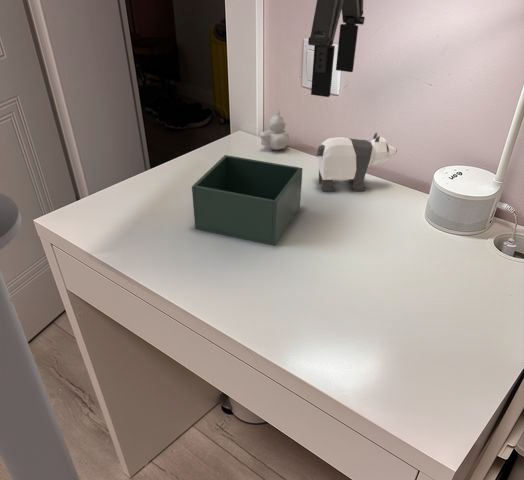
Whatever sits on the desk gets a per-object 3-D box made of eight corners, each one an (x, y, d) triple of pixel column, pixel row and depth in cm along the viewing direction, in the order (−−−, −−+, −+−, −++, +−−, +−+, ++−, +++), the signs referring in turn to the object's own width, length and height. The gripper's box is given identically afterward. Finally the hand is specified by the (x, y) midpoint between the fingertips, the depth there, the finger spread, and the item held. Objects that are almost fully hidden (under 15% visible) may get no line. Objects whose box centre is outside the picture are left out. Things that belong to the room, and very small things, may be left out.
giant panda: (316, 192, 99) (321, 141, 93) (312, 179, 103) (316, 129, 97) (393, 190, 100) (403, 139, 94) (386, 178, 104) (395, 128, 98)
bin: (194, 228, 89) (191, 186, 84) (226, 194, 98) (224, 154, 93) (275, 245, 86) (276, 202, 80) (299, 208, 95) (302, 167, 90)
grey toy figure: (293, 150, 113) (295, 111, 108) (265, 156, 111) (266, 116, 106) (281, 141, 117) (283, 103, 112) (254, 146, 115) (254, 107, 109)
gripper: (355, -88, 59) (334, 111, 74) (397, -99, 76) (374, 64, 91) (291, -91, 61) (283, 103, 75) (346, -101, 78) (331, 59, 93)
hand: (333, 82), depth 83 cm, fingers open, 13 cm apart
